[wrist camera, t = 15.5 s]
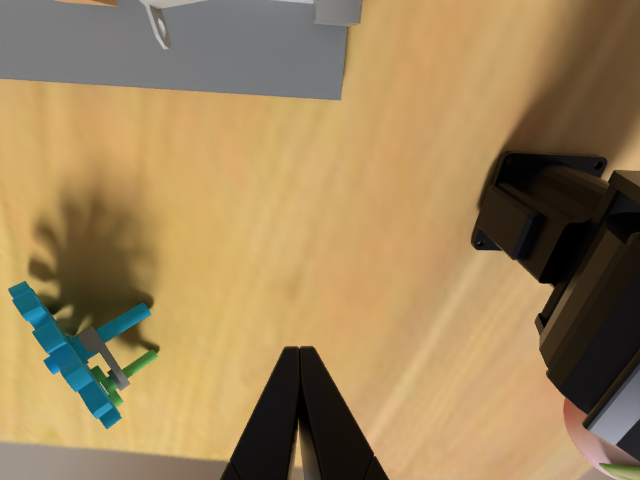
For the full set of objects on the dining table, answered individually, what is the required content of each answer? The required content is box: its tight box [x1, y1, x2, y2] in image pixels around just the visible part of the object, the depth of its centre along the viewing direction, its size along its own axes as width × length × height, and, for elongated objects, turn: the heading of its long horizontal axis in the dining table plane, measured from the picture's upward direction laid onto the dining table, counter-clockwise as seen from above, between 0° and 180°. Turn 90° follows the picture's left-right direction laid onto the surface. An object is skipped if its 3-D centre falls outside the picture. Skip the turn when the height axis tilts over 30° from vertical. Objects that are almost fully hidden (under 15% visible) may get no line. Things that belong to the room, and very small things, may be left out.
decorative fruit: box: [563, 397, 640, 480], centre depth 26 cm, size 9×8×10 cm
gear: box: [8, 281, 158, 429], centre depth 21 cm, size 11×6×10 cm
